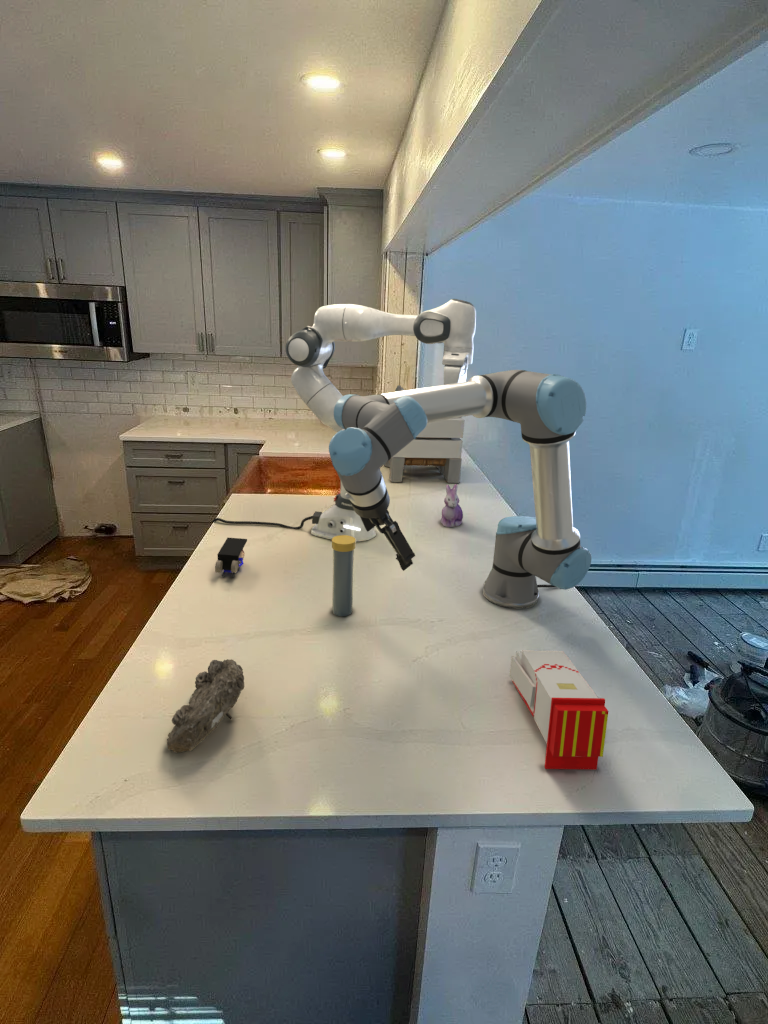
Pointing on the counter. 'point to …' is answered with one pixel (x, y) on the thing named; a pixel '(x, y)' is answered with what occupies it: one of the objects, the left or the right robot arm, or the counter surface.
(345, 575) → the jar
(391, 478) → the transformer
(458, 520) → the figurine
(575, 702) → the toy
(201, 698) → the fossil
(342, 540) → the lid
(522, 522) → the right robot arm
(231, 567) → the figurine character
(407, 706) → the counter surface
